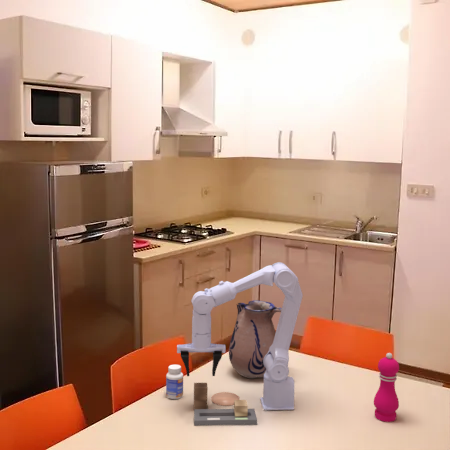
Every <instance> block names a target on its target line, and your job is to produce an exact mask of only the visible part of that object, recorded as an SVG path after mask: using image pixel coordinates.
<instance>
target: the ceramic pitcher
mask: <svg viewBox="0 0 450 450" xmlns="http://www.w3.org/2000/svg"><path fill="white" fill-rule="evenodd" d="M236 309H237V313H236V314H237V315H236V320H235V325H234V327H233V330H232V335H231V338H230V343H229V348H228V359H229V362H230V364H231V367H232V368H233V369H234V370H235V372H237V374H238V375H241V376H243V377H245V378H248V379H256V378H264V373H265V372H266V368H265V366H264V364H263V359H264V357H265V355H266V354H267V353H268V351H269V348H270V346H271V345H272V344H273V341H274V337H275V333H276V329H275V325H274V322H273V316H274V315H275V314H277V313H281V310H282V307H278V306H277V307H276V306H275V304H274V303H272V302H270V301H265V300H258V299H256V300H255V299H254V300H250V301H248V303H245V302H237V303H236Z"/></svg>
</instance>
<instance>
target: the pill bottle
mask: <svg viewBox="0 0 450 450" xmlns="http://www.w3.org/2000/svg"><path fill="white" fill-rule="evenodd" d="M165 377H166V378H165V379H166V380H165V381H166V382H165V387H166V392H165V393H166V398H168V399H170V400H179V399H181V398H183V396H184V373H183V372H182V366H181V365H180V364H170V365H169V366H168V372H167V373H166V375H165Z"/></svg>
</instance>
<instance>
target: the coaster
mask: <svg viewBox="0 0 450 450" xmlns="http://www.w3.org/2000/svg"><path fill="white" fill-rule="evenodd" d="M210 398H211V399H210V400H211V402H212V404H215V405H217V406H220V407H221V406H223V407H230V406H234V400H241V399H240V396H239V395H238V394H236V393H233V392H229V391H221V392H216V393H214V394H212V395H211V397H210Z"/></svg>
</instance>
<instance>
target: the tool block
mask: <svg viewBox="0 0 450 450" xmlns="http://www.w3.org/2000/svg"><path fill="white" fill-rule="evenodd" d="M208 389H209V387H208V382H193V410H194V409H208Z"/></svg>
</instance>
